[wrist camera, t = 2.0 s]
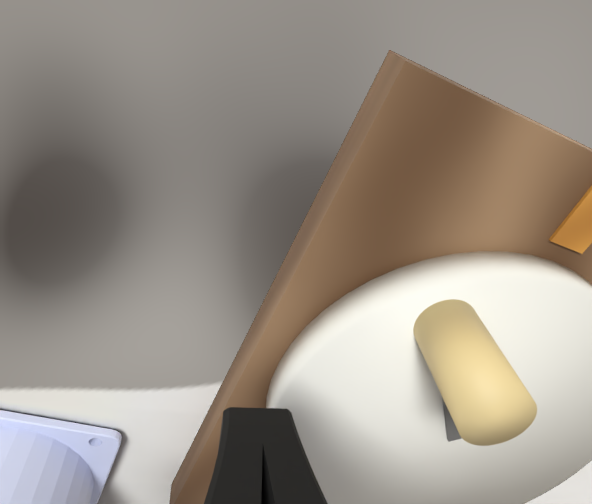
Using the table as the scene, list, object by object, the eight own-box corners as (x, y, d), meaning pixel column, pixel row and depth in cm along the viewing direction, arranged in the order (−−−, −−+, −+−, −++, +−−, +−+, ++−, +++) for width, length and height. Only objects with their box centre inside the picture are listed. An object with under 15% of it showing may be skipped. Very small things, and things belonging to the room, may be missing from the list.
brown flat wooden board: (171, 484, 23) (167, 518, 22) (389, 49, 13) (406, 62, 12) (445, 524, 28) (456, 554, 27) (748, 225, 18) (789, 248, 17)
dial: (597, 456, 23) (680, 575, 19) (310, 527, 23) (328, 658, 19) (640, 202, 15) (800, 303, 11) (214, 315, 16) (208, 453, 12)
